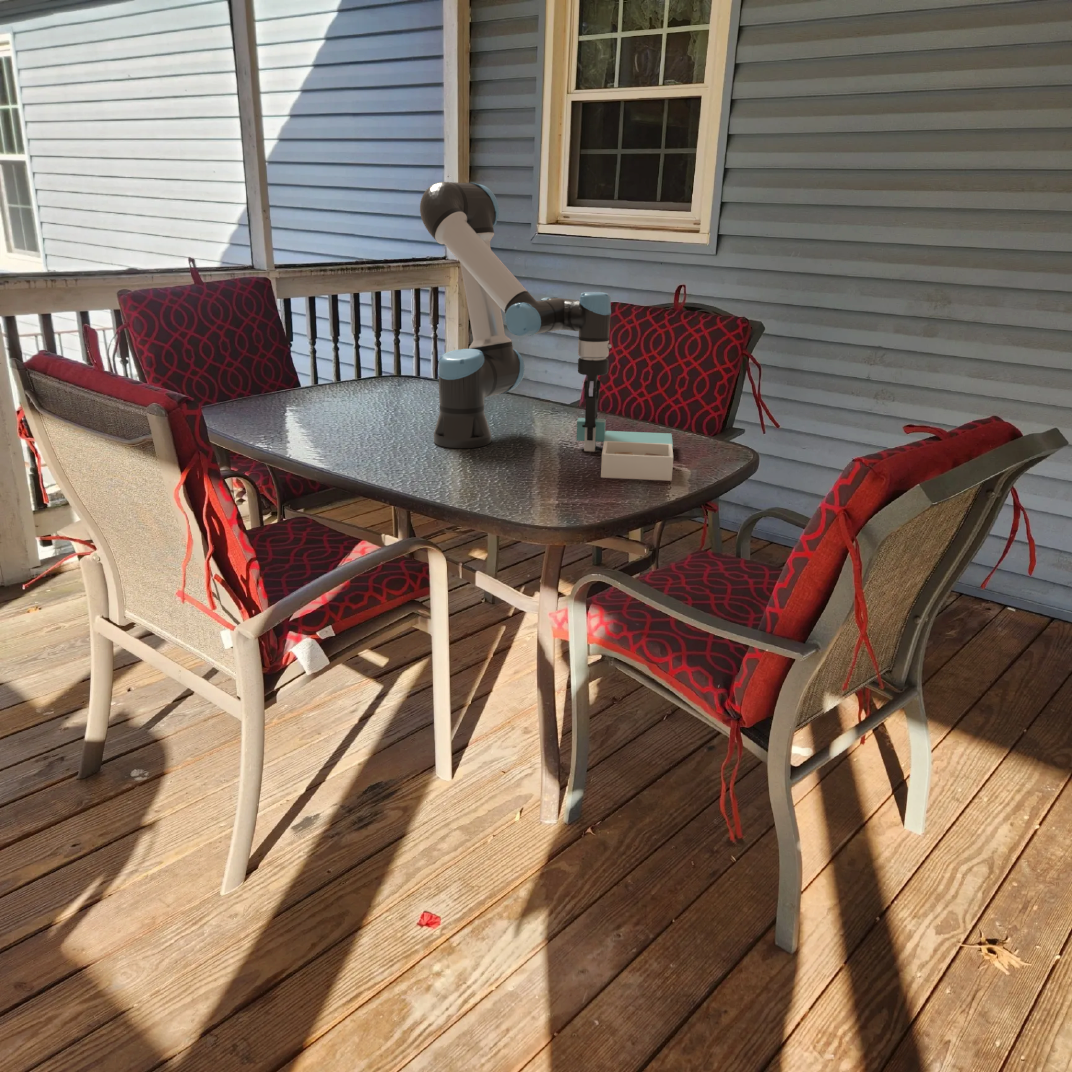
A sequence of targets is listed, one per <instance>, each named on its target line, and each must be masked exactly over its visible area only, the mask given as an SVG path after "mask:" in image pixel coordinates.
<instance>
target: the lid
mask: <svg viewBox="0 0 1072 1072" xmlns="http://www.w3.org/2000/svg"><path fill="white" fill-rule="evenodd" d="M597 418H598V417H597ZM597 418H596V420H595V424H596V426H595V427H596V437H595V442H596V443H597V442H598V443H599V442H601V443H602V444H603V445H604V441H616V442H639V443H662V444H672V449H674V445H673V444H674V443H673V436H672V433H670V432H669V433H667V432H649V431H648V432H647V431H644V432H643V431H619V430H618V431H617V430H616V431H615V430H606V418H598V419H597ZM582 425H585V417H578V418H577V420H576V438H575V439H576V441H577V442H584V441H585V427H582ZM603 445H602V446H603Z"/></svg>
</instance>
